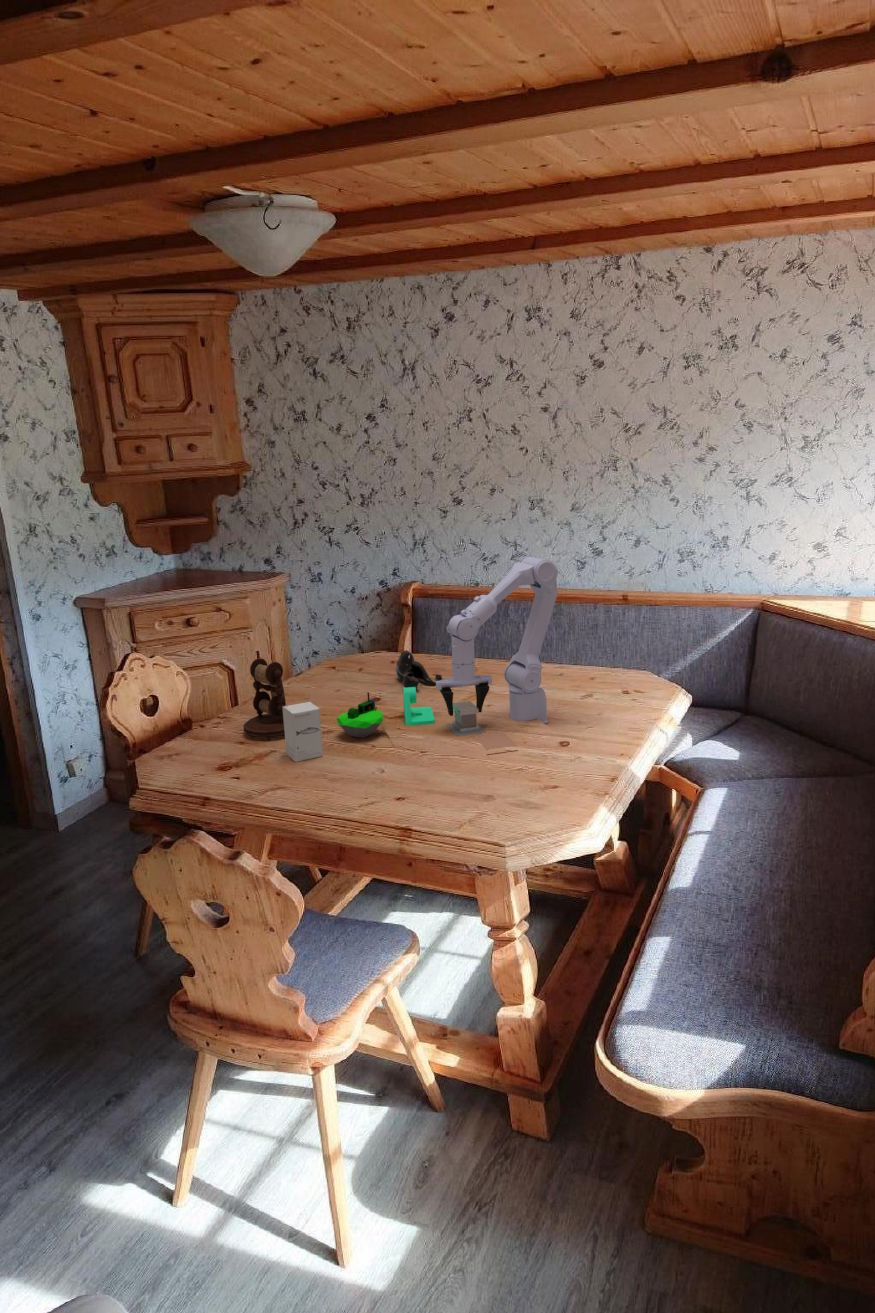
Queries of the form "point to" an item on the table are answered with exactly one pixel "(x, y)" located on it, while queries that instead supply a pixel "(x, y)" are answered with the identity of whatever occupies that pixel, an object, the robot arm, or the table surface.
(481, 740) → the stand
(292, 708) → the supplement box
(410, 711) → the camera mount
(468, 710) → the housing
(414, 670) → the cat figurine
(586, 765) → the table surface
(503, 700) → the table surface
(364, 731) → the green floating island model
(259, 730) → the brown upright round-based piece
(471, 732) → the stand
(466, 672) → the robot arm
